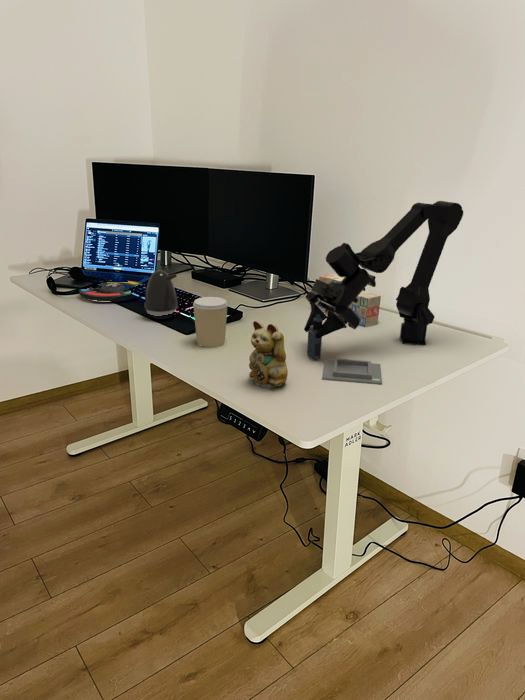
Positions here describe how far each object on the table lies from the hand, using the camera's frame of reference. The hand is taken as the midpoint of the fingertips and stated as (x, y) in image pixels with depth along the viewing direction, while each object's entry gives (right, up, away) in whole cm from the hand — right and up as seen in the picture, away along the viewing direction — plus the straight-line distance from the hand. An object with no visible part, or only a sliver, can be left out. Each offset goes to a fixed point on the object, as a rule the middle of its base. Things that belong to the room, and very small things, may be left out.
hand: (310, 334), depth 140 cm
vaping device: (+1, -6, +3) cm, 7 cm away
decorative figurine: (-11, -12, -12) cm, 20 cm away
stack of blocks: (+15, +6, +37) cm, 40 cm away
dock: (+10, -9, -6) cm, 15 cm away
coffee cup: (-27, -2, +12) cm, 29 cm away
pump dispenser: (-44, +6, +32) cm, 55 cm away
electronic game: (-66, +15, +56) cm, 88 cm away
